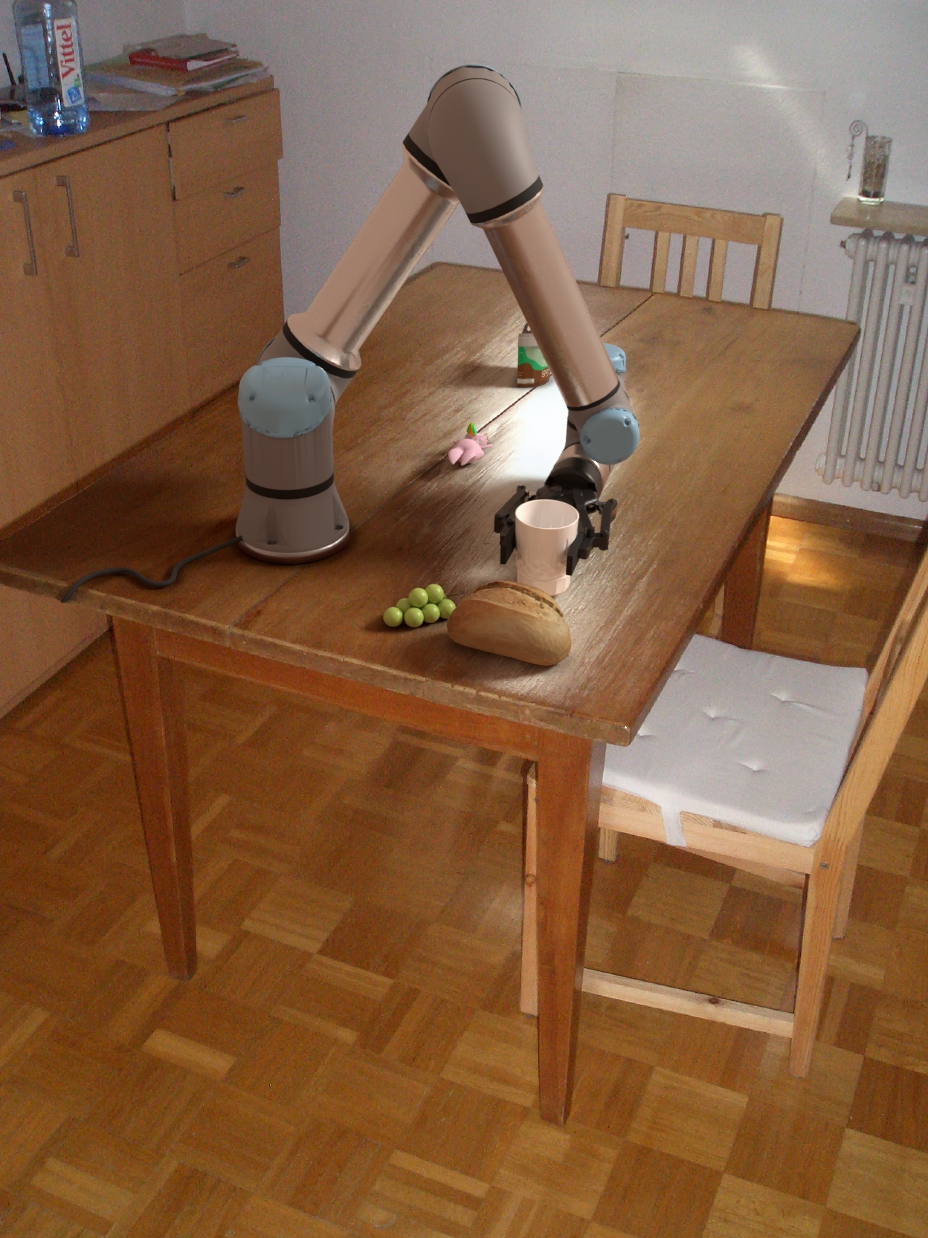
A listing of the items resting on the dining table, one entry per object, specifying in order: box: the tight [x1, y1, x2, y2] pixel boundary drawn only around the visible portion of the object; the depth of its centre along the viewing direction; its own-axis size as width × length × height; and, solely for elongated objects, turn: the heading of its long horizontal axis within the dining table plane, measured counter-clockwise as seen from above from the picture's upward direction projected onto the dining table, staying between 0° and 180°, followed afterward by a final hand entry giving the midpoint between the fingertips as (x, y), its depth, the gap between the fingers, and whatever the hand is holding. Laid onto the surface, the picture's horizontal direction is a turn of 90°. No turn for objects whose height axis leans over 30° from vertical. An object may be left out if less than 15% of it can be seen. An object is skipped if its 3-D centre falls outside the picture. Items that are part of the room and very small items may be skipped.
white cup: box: [514, 500, 579, 597], centre depth 159 cm, size 8×8×10 cm
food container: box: [516, 322, 551, 389], centre depth 220 cm, size 12×6×10 cm, turn 168°
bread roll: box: [446, 580, 572, 667], centre depth 148 cm, size 10×15×8 cm, turn 73°
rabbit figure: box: [447, 421, 493, 466], centre depth 192 cm, size 6×6×15 cm
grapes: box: [382, 583, 466, 628], centre depth 155 cm, size 11×5×4 cm, turn 118°
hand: (536, 560), depth 155 cm, fingers closed on white cup, 8 cm apart
